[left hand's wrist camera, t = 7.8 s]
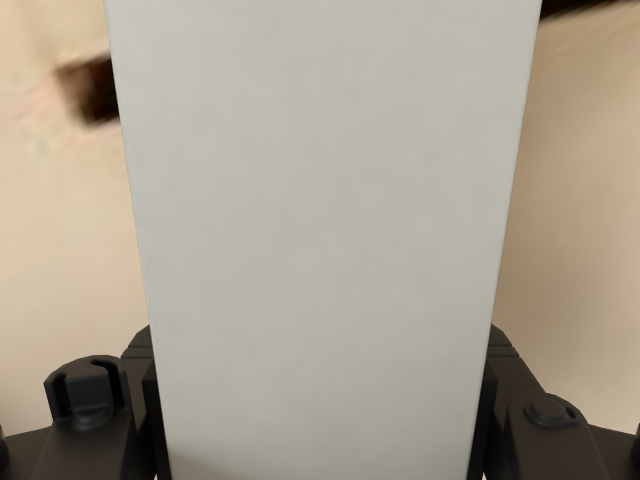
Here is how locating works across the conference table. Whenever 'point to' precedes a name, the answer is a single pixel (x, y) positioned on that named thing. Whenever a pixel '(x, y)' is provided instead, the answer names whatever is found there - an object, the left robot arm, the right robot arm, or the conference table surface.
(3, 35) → the conference table surface
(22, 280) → the conference table surface
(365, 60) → the bar
